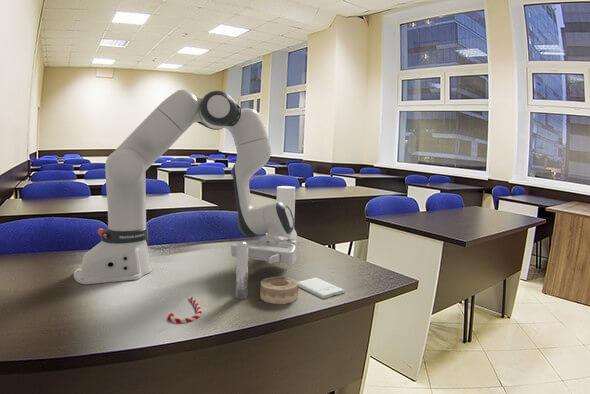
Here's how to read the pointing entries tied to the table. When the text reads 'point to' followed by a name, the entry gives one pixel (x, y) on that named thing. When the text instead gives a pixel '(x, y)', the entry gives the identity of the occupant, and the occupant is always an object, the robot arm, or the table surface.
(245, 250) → the white peg
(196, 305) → the candy cane
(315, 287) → the external hard drive
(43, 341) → the table surface
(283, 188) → the cylindrical container
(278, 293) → the tan ring
